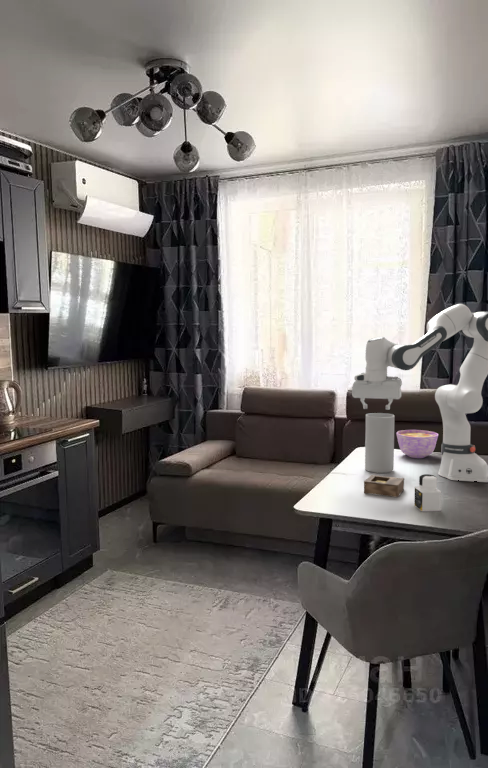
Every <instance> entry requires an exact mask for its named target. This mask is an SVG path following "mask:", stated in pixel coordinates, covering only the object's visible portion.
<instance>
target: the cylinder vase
mask: <svg viewBox="0 0 488 768" xmlns="http://www.w3.org/2000/svg"><path fill="white" fill-rule="evenodd" d="M364 439H365V442H364V450H365V451H364V469H365V470H366V471H367V472H369V473H374V474H388V473H392V472H393V471H394V464H395V463H394V461H395V460H394V457H395V456H394V455H395V454H394V452H395V415H394V414H393V413H383V412H377V413H376V412H374V413H373V412H372V413H366V414H365V437H364Z"/></svg>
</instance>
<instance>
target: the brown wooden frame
mask: <svg viewBox="0 0 488 768" xmlns="http://www.w3.org/2000/svg"><path fill="white" fill-rule="evenodd" d="M376 480H378V481H387V482H386V483H383V482H376ZM404 489H405V478H403V477H394V476H385V475H376V474H370V476H368V477H367V478H366V479H365V480H364V481H363V493H364V494H370V495H371V494H372V495H378V496H387V497H395V498H398V497H400V495H401V494H402V493H403V491H404Z"/></svg>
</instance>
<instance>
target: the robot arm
mask: <svg viewBox="0 0 488 768" xmlns="http://www.w3.org/2000/svg"><path fill="white" fill-rule="evenodd" d="M458 332H460V334H461V335H462V336H464V337H465V338H471V339H472V338H473V344H472V347H471V349H470V350H469V352H468V353H467V355H466V357H465V359H464V361H463V362H462V363H461V366H460V367H459V373H460V374H459V375H460V376H459V381H458V383H457V384H452V383H450V384H445V385H441V386H439V387H437V389H436V390H435V393H434V400H435V402H436V404H437V405H438V407H439V412H440V415H441V419H442V420H441V421H442V428H443V429H442V431H443V432H442V433H443V434H442V442H441V451H440V452H441V460H440V465H439V470H438V473H437V474H438V476H440V477H443V478H447V479H448V480H451V481H458V480H459V481H460V482H474V481H477V482H479V483H488V463H487V462H486V461H485V460H484V459H483V458H482V457H481V456H479V455H478V454H477V453H475V452H476V446H475V445H474V444H472V443H471V431H472V430H471V427H472V426H471V424H470V422H469V420H468V417H467V416H466V414H474V413H476V412H478V411H479V410H480V409H481V408H482V407H483V402H484V401H483V400H484V399H483V396H482V390H483V386H484V383H485V380H486V378H487V377H488V311H477V312H472V311H471V310H470V308H469V307H468V306H467V305H466V304H463V303H457V304H453V305H452V306H449V307H447V308H445V309H444V310H442V311H440V312H439V313H437V314H436V315H434V316H433V317H432V318H431V319H429V320H428V321H427V323H426V334H424V335H423V336H422V337H420V338H419V339H417V340H416V341H415V342H413V343H410V344H405V345H404V344H403V345H401V344H397V343H394V342H392V341H390V340H389V339H387V338H386V337H384V336H377V337H373V338H369V339H368V341H367V342H366V346H365V362H366V365H365V372H362V373H358V374H357V375H355V376H354V382H353V383H352V388H351V396H352V398H354V399H360V402H361V404H362V407H363V410H368V404H367V403H366V402H365V401H366V399H382V400H387V401H388V404H386V405H385V410H387V411H388V410H390V409H391V405H392V403H393V401H394V400H400V399H401V398H402V388H401V387H402V385H403V383H402V379H401V378H400V377H398V376H389V375H388V368H389V367H391V368H395V369H398V370H402V371H410V370H412V369H414V368H415V367H416V366H417V365H418V363H419V362H420V360H421V359H422V358H423V357H424V356H425V355H426V354H428V353H429V352H431V351H433V350H434V349H435V348H436V347H437V346H438V345H440V344H441V343H442V342H444V341H446V340H448V339H450V338H451V337H453V336H454V335H456V334H457V333H458Z"/></svg>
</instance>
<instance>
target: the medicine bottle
mask: <svg viewBox="0 0 488 768" xmlns="http://www.w3.org/2000/svg"><path fill="white" fill-rule="evenodd" d="M418 480H419V481H418V482H419V483H418V486H415V487H414V500H413V501H414V507H416V508H417V509H418V510H419V511H420V512H423V513H424V512H426V513H427V512H441V511H442V491H441V490H440V489H439V488H438V477H437V476H436V475H435V474H434V475H433V474H421V475H419V479H418Z"/></svg>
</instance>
